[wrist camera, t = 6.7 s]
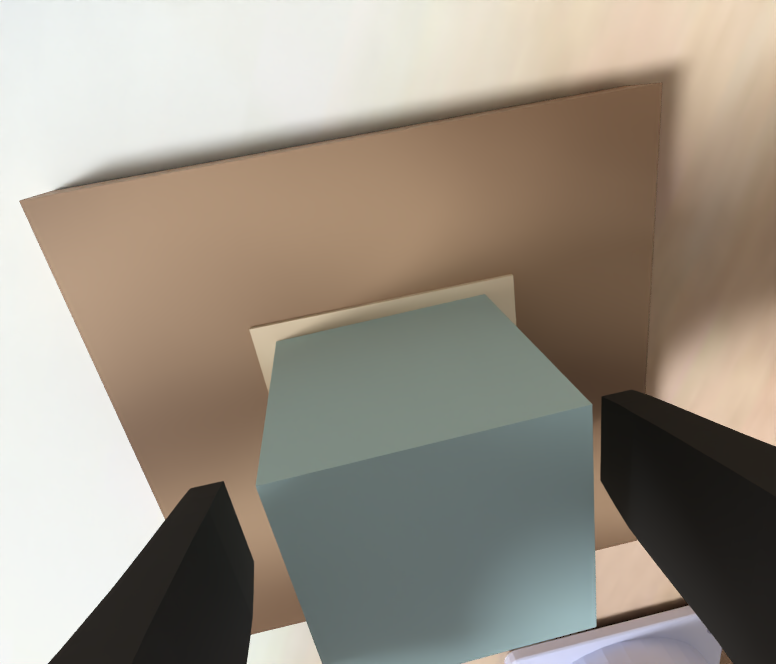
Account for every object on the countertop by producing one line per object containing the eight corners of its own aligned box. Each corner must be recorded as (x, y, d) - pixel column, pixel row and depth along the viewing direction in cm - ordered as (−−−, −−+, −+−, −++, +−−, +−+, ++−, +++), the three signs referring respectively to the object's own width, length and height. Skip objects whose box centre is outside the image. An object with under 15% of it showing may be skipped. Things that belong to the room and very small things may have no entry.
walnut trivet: (614, 510, 16) (639, 542, 15) (227, 603, 15) (220, 645, 14) (626, 85, 11) (665, 82, 10) (50, 191, 10) (16, 201, 9)
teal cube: (503, 460, 13) (596, 626, 9) (326, 504, 12) (334, 696, 8) (484, 293, 11) (592, 403, 7) (276, 341, 11) (255, 486, 6)
